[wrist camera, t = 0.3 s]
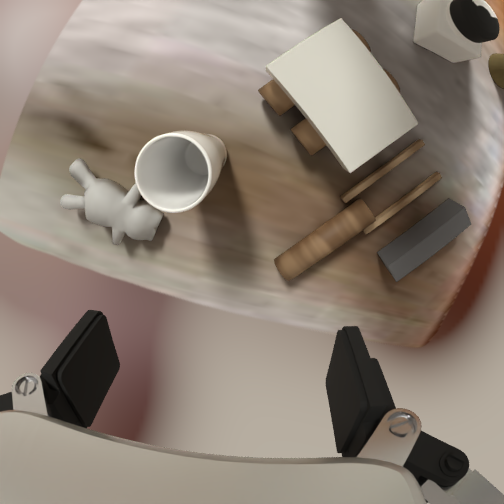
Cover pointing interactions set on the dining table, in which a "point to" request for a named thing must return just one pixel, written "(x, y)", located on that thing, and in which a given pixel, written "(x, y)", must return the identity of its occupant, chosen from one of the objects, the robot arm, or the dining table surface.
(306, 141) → the track
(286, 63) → the slab
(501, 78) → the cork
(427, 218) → the grey rectangular bar
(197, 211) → the dining table surface
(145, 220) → the bunny figurine
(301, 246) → the roller
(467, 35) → the medicine bottle
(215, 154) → the white cup
